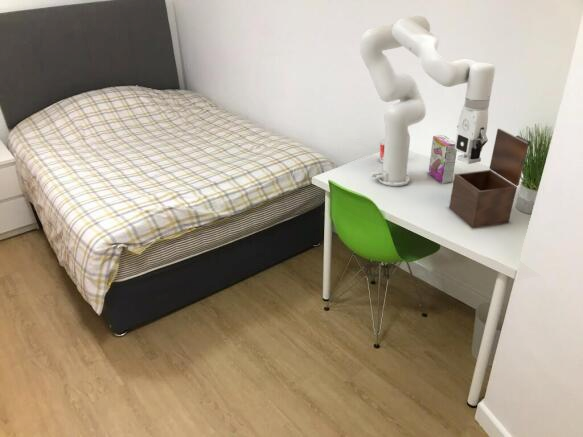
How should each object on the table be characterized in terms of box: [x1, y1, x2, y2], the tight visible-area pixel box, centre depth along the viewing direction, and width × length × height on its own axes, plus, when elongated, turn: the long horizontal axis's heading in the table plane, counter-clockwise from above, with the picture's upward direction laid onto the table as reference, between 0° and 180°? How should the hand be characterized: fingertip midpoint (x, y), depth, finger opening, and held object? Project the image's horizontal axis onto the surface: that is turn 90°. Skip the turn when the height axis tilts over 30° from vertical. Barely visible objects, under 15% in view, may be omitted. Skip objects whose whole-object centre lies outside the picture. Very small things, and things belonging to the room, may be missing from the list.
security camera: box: [455, 132, 483, 165], centre depth 158 cm, size 6×7×10 cm
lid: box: [488, 128, 531, 187], centre depth 154 cm, size 15×15×6 cm
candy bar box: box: [428, 134, 458, 184], centre depth 186 cm, size 11×5×16 cm, turn 14°
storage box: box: [448, 169, 518, 229], centre depth 159 cm, size 14×15×13 cm
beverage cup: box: [379, 138, 385, 163], centre depth 204 cm, size 6×6×14 cm
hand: (468, 154), depth 159 cm, fingers closed on security camera, 7 cm apart
